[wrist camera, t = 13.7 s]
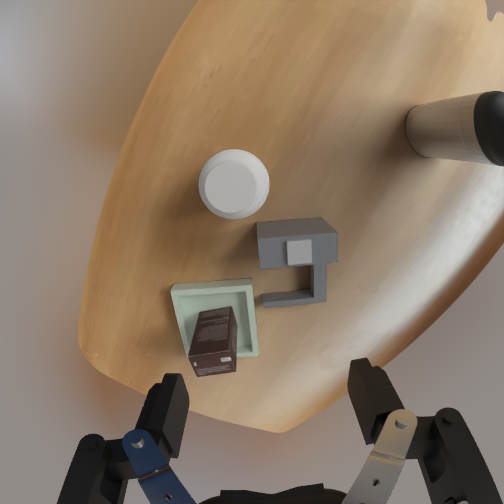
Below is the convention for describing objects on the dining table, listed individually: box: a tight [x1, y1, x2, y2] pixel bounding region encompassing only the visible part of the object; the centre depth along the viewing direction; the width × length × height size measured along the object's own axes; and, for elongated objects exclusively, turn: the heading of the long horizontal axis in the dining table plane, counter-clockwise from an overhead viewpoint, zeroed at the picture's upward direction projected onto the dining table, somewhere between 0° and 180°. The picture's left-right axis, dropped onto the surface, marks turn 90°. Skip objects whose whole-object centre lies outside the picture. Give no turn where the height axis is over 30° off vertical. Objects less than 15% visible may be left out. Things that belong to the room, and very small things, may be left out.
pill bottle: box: [198, 149, 269, 219], centre depth 35 cm, size 8×8×15 cm
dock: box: [256, 217, 338, 308], centre depth 41 cm, size 10×13×10 cm
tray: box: [170, 278, 259, 359], centre depth 48 cm, size 13×14×3 cm
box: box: [188, 306, 238, 377], centre depth 43 cm, size 6×4×12 cm
